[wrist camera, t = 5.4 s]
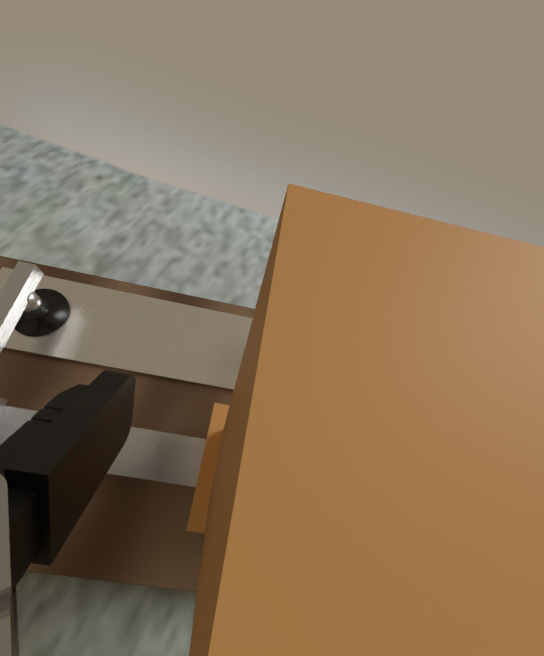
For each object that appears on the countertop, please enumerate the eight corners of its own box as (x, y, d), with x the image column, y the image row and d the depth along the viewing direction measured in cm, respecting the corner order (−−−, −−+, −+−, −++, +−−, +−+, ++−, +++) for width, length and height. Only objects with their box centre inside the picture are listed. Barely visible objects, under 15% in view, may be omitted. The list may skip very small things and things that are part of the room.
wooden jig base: (-141, 534, 14) (-194, 544, 12) (13, 273, 20) (-7, 254, 18) (546, 621, 17) (586, 638, 15) (503, 374, 23) (527, 366, 21)
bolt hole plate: (-39, 340, 16) (-45, 337, 16) (5, 269, 18) (1, 265, 17) (530, 444, 19) (536, 444, 19) (517, 374, 21) (522, 373, 20)
